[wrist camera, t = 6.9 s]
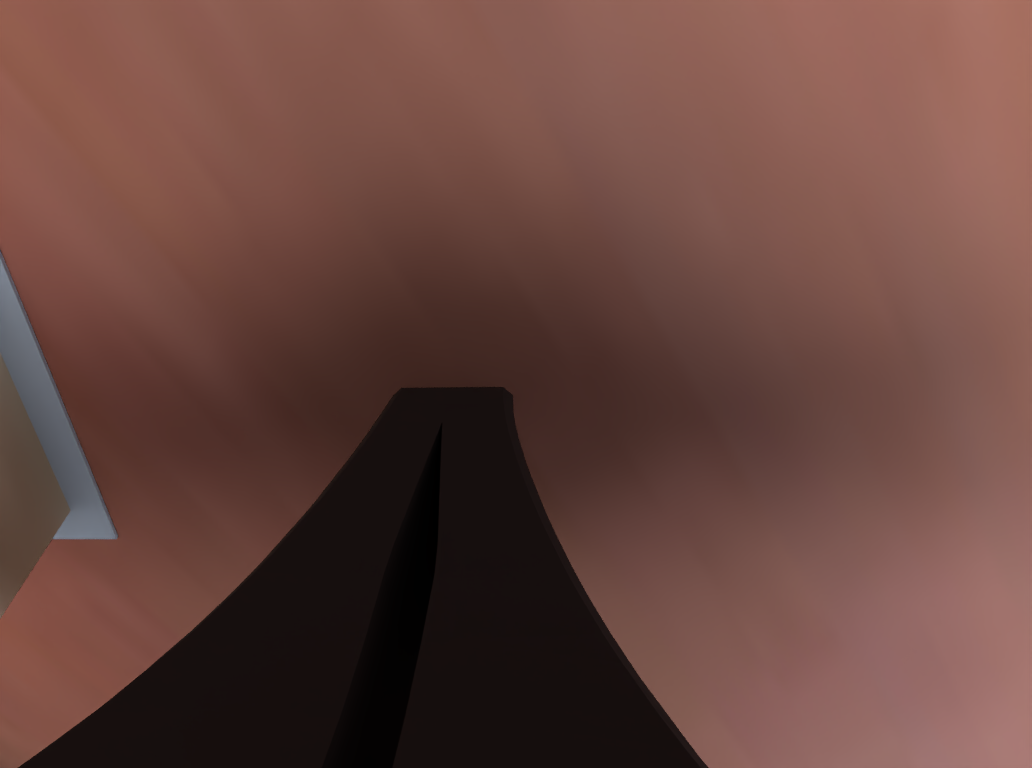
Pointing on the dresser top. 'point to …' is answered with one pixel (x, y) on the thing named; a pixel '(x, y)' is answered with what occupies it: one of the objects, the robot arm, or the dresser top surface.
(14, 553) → the maple t block
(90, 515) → the slate t outline
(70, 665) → the dresser top surface
